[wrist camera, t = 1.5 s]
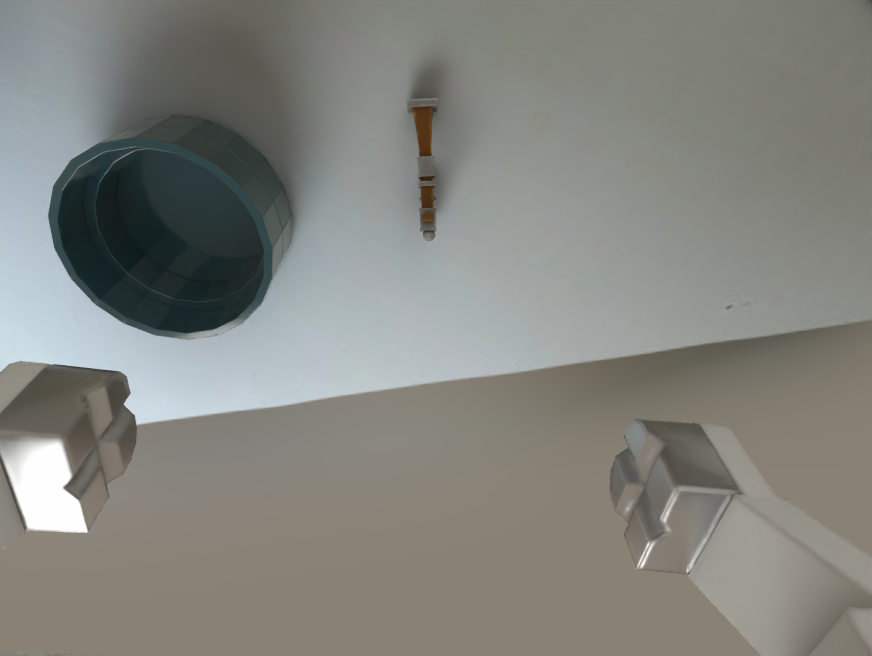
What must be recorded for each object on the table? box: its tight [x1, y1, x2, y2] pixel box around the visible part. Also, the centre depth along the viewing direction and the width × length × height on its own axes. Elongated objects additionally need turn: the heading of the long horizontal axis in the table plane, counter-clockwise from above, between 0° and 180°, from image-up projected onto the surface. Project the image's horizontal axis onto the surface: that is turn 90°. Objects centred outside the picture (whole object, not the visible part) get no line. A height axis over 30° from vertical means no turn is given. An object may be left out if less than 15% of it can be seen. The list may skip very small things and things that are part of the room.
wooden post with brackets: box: [406, 98, 438, 241], centre depth 35 cm, size 2×8×4 cm, turn 3°
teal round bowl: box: [48, 115, 292, 339], centre depth 35 cm, size 12×12×6 cm
